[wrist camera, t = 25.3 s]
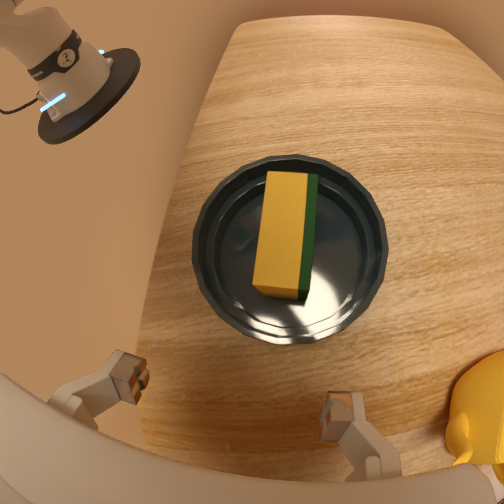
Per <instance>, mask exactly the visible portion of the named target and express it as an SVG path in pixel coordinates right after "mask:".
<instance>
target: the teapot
mask: <svg viewBox="0 0 504 504" xmlns="http://www.w3.org/2000/svg"><path fill="white" fill-rule="evenodd" d="M445 443H446V446H447V448H448V449H449V450H450V451H451V453H452V455H453V456H454V457H456V460H455V461H454V462H453V464H452V465H451V466H454V465H458V464H461V463H470V464H479V465H489V464H492V467H493V469H494V472H495V474H496V476H497V478H498V480H499V481H500V483H502V484H503V485H504V350H502V351H499V352H496V353H494V354H491V355H489V356H488V357H486V358H484V359H483V360H481V361H480V362H478V363H477V364H476V365H474V366H473V367H472V368H470V369H469V370H468V371H467V372H465V373H464V374H463V375H462V376H461V378H460V379H459V380H458V381H457V383H456V384H455V386H454V389H453V392H452V397H451V403H450V412H449V423H448V425H447V428H446V432H445Z"/></svg>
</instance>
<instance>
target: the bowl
mask: <svg viewBox="0 0 504 504" xmlns="http://www.w3.org/2000/svg"><path fill="white" fill-rule="evenodd" d="M268 171H275V172H292V173H306V174H318V190H317V209H316V225H315V239H314V251H313V263H312V274H311V284H310V291H309V294H308V297H307V300H306V301H301V300H291V299H282V298H273V297H266V296H264V295H263V294H262V293H261V292H260V291H259V290H258V289H257V288H256V287H255V286H254V285H253V284H252V283H253V275H254V268H255V261H256V253H257V246H258V239H259V231H260V224H261V216H262V209H263V202H264V194H265V187H266V179H267V172H268ZM388 251H389V248H388V241H387V234H386V228H385V222H384V219H383V217H382V215H381V213H380V211H379V209H378V207H377V205H376V203H375V201H374V199H373V197H372V196H371V194H370V193H369V192H368V191H367V190H366V189H365V188H364V187H363V186H362V185H361V184H360V183H359V182H358V181H357V180H356V179H355V178H354V177H353V176H352V175H351V174H350V173H349V172H347V171H345V170H343V169H341V168H339V167H337V166H336V165H334V164H332V163H330V162H328V161H326V160H323V159H319V158H314V157H309V156H304V155H299V154H292V155H279V156H269V157H266V158H263V159H260V160H257V161H255V162H252V163H249V164H247V165H244V166H242V167H241V168H239V169H238V170H236V171H235V172H234V173H232V174H231V175H230V176H228V177H227V178H225V179H224V180H223V181H221V182H220V183H219V184H218V186H217V187H216V188H215V190H214V191H213V192H212V193H211V195H210V196H209V197H208V199H207V200H206V201H205V203H204V204H203V206H202V208H201V211H200V214H199V217H198V219H197V222H196V225H195V228H194V230H193V240H192V264H193V268H194V271H195V275H196V278H197V282H198V285H199V289H200V291H201V293H202V294H203V295H204V297H205V298H206V300H207V301H208V303H209V304H210V305H211V307H212V308H213V310H214V311H215V312H216V314H217V315H218V316H219V317H220V318H221V319H223V320H224V321H225V322H227V323H228V324H230V325H231V326H232V327H234V328H235V329H237V330H238V331H239V332H241V333H242V334H244V335H246V336H249V337H252V338H255V339H259V340H262V341H265V342H269V343H272V344H277V345H285V344H307V343H313V342H315V341H318V340H321V339H323V338H326V337H328V336H331V335H333V334H335V333H338V332H340V331H342V330H344V329H345V328H346V327H347V326H348V325H350V324H351V323H352V322H353V321H354V320H355V319H356V318H358V317H359V316H360V315H361V314H362V313H363V312H364V311H365V310H367V308H368V307H369V305H370V304H371V302H372V300H373V298H374V297H375V295H376V293H377V291H378V289H379V288H380V286H381V284H382V282H383V280H384V274H385V269H386V263H387V257H388Z"/></svg>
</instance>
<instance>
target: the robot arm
mask: <svg viewBox="0 0 504 504" xmlns="http://www.w3.org/2000/svg"><path fill="white" fill-rule="evenodd" d="M23 1H24V0H0V47H3V48H5V49H7V50H9V51H10V52H11V53H13V54H14V55H15V56H16V57H17V58H18V59H19V60H20V61H21V62H22V63H23V64H24V65H25V66H26V67H27V68H28V72H29V73H30V76H31V77H33V78H34V79H35V80H36V81H37V82H38V87H39V91H38V93H37V96H36V97H37V98H36V99H34V100H32V101H31V102H29V103H27V104H25V105H24V106H22V107H20V108H18V109H15V110H12V111H9V112H8V111H6V112H5V111H2V110H1V109H0V112H1V113H3V114H11V113H15V112H17V111H20V110H22V109H24V108H26V107H27V106H29V105H31V104H33V103H35V102H36V101H37V100H38V99H39V100H40V101H41V102H43V101H44V102H43V103H44V105H45V106H44V107H43V108H41V109H40V110H41V111H42V112H43V111H44V110H46V109H47V112H48V114H49V116H50V117H51V119H52V121H53V122H54V123H55V122H57V121H58V120H60V119H61V118H62V117H64V116H65V115H67V114H69V113H71V112H73V111H75V110H77V109H78V108H80V107H81V106H83V105H84V104H85V103H86V102H88V101H89V100H90V99H91V98H92V97H93V96H94V95H95V94H96V93H97V92H98V91H99V90H100V89H101V88H102V86H103V85H104V84H105V82H106V81H107V79H108V77H109V75H110V67H111V66H112V64H113V62H114V60H113V59H112V58H104V57H103V56H102V53H104V51H103V50H99V51H98V50H97V49H96V47H95V46H94V45H93V44H92V43H91V42H82V40H81V38H80V37H79V35H78V34H77V33H76V32H75V30H71V29H70V28H69V26H68V25H67V23H66V22H65V20H64V19H63V18H62V16H61V15H60V13H59V12H58V11H57V9H55V8H53V7H43V8H40V9H36V10H34V11H31V12H29V13H27V14H24V15H16V14H14V9H15V8H16V7H17V6H18V5H19V4H20V3H22V2H23ZM44 99H45V100H44ZM146 365H147V362H146V359H144V358H141V357H138V356H135V355H132V354H129V353H126V352H123V351H120V350H115V351H114V352H113V353H112V355H111V356H110V357H109V359H108V360H107V361H106V363H105V364H104V365H103V367H102V368H101V370H100V371H94V372H92V373H90V374H87V375H85V376H83V377H81V378H78V379H76V380H73V381H71V382H68V383H66V384H64V385H61V386H59V387H58V389H57V390H56V391H55V393H54V394H53V395H52V397H51V398H50V399H49V400H48V402H47V403H46V402H44V401H43V400H41V399H39V398H38V397H36V396H34V395H33V394H32V393H30V392H29V391H27V390H26V389H24V388H23V387H22V386H20V385H19V384H17V383H16V382H15V381H13V380H12V379H11V378H9V377H8V376H7V375H5V374H3V373H0V504H497V501H496V497H495V493H494V489H493V487H492V484H491V482H490V480H489V478H488V477H487V476H486V475H485V474H484V473H482V472H481V471H480V470H479V469H477V468H476V467H475V466H473V465H471V464H470V463H461V464H458V465H454V466H451V467H447V468H443V469H439V470H434V471H430V472H425V473H420V474H414V475H409V476H402V470H401V463H400V457H399V453H398V452H397V451H396V450H395V449H394V448H393V446H392V445H391V444H390V443H389V442H388V441H387V440H386V439H385V438H384V437H383V436H382V435H381V433H380V432H379V431H378V430H377V429H376V428H375V427H374V426H373V425H372V424H371V423H370V421H366V415H365V408H364V401H363V395H362V393H361V392H345V391H328V392H327V393H326V396H325V397H326V400H325V401H323V402H322V405H321V408H320V415H319V421H320V422H321V423H322V425H321V426H320V428H319V441H333V442H337V443H338V444H339V446H340V447H341V449H342V450H343V452H344V453H345V455H346V456H347V458H348V459H349V461H350V463H351V464H352V466H353V467H354V469H355V470H354V471H353V472H352V473H351V474H350V475H349V476H348V477H347V478H346V479H345V482H301V481H286V480H275V479H265V478H257V477H250V476H244V475H238V474H232V473H226V472H221V471H217V470H212V469H207V468H203V467H199V466H195V465H191V464H187V463H184V462H180V461H177V460H173V459H170V458H167V457H163V456H160V455H157V454H154V453H151V452H149V451H146V450H143V449H140V448H137V447H135V446H132V445H130V444H127V443H125V442H122V441H120V440H117V439H115V438H113V437H110V436H108V435H106V434H104V433H102V432H99V431H97V430H98V425H97V424H96V422H95V421H94V419H93V418H94V417H96V416H97V415H99V414H101V413H102V412H104V411H105V410H107V409H109V408H110V407H112V406H114V405H115V404H116V403H118V402H120V401H121V400H122V401H125V402H128V403H131V404H134V405H137V403H138V401H139V399H140V398H141V396H142V394H141V390H143V389H145V388H146V387H147V385H148V382H149V370H148V369H147V368H146Z"/></svg>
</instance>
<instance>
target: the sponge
mask: <svg viewBox="0 0 504 504" xmlns="http://www.w3.org/2000/svg"><path fill="white" fill-rule="evenodd" d="M317 190H318V174H306V173H292V172H275V171H268V172H267V179H266V187H265V194H264V202H263V209H262V216H261V224H260V231H259V239H258V246H257V253H256V261H255V268H254V275H253V283H252V284H253V285H254V286H255V287H256V288H257V289H258V290H259V291H260V292H261V293H262V294H263V295H264V296H266V297H273V298H282V299H291V300H301V301H306V300H307V297H308V294H309V291H310V284H311V274H312V263H313V251H314V239H315V225H316V209H317Z"/></svg>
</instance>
